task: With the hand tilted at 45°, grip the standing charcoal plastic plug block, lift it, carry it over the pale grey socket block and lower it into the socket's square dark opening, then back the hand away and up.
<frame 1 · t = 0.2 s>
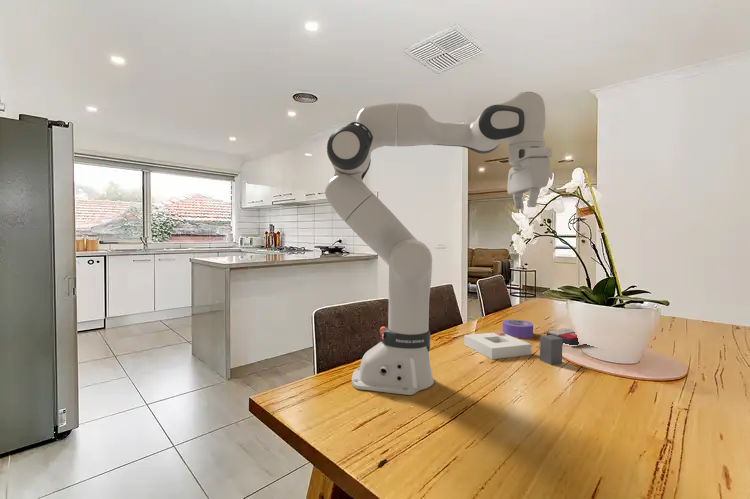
hand: (524, 208, 94), 48 cm above the table, tool pointing down, fingers open, 8 cm apart
socket: (496, 349, 123), on the table
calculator: (571, 342, 135), on the table
tape roll: (517, 335, 143), on the table
plug: (550, 361, 111), on the table
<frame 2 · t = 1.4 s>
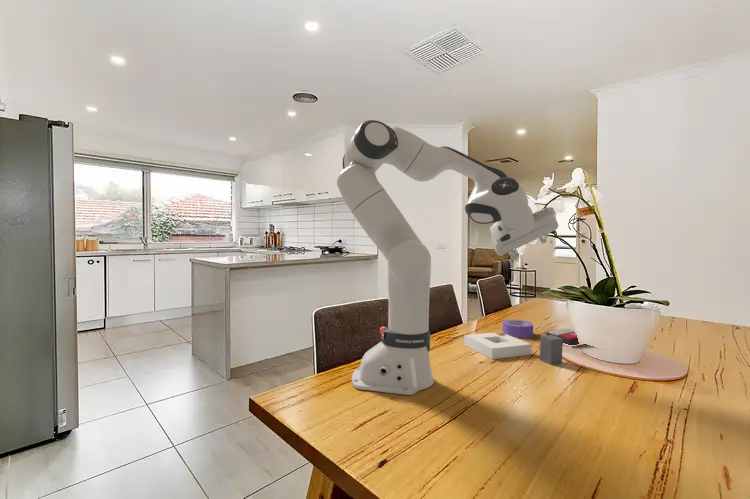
hand: (529, 248, 114), 36 cm above the table, tool tilted 55°, fingers open, 8 cm apart
nothing on the table moved.
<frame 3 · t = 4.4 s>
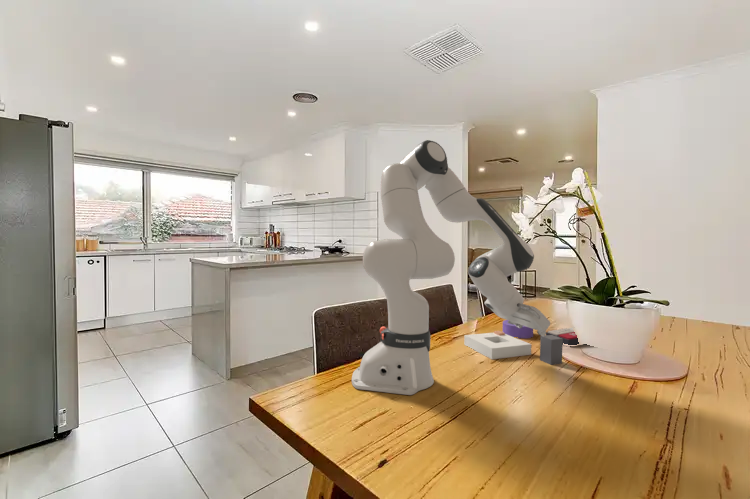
hand: (531, 330, 110), 10 cm above the table, tool tilted 45°, fingers open, 8 cm apart
nothing on the table moved.
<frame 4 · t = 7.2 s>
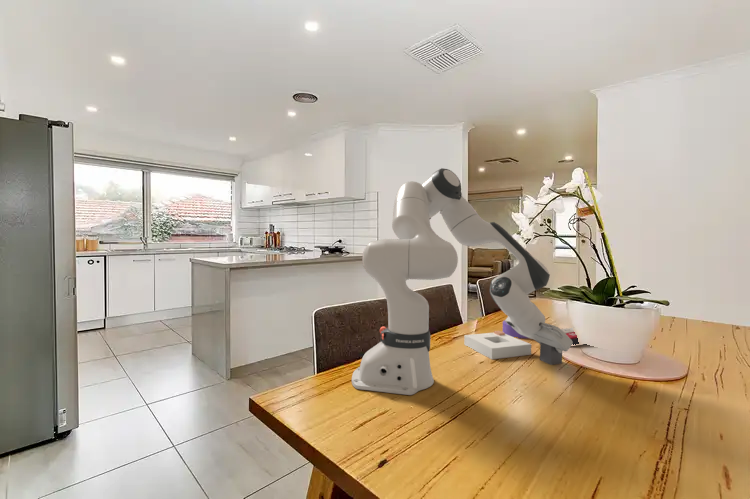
hand: (552, 348, 112), 4 cm above the table, tool tilted 45°, fingers closed on plug, 4 cm apart
plug: (550, 361, 111), on the table, touching gripper
everything else where it was.
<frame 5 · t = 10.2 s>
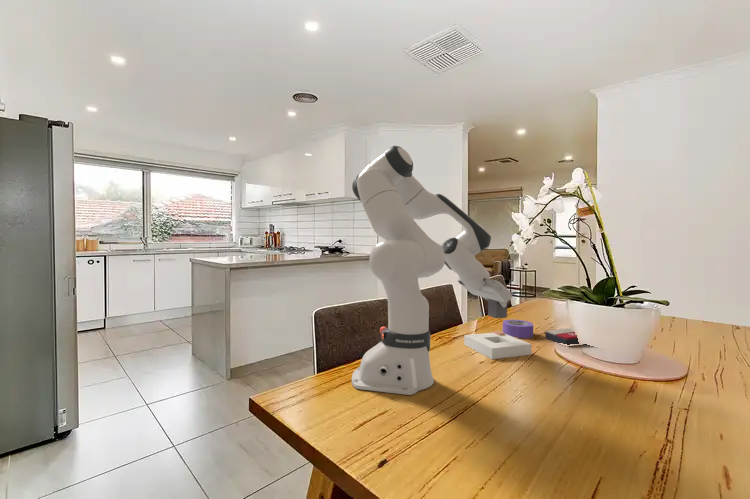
hand: (498, 304, 123), 16 cm above the table, tool tilted 45°, fingers closed on plug, 4 cm apart
plug: (497, 316, 123), point 12 cm above the table, touching gripper
everything else where it was.
when the fingers open (7 cm above the table, at t = 13.1 s): plug drops 1 cm, resting on socket.
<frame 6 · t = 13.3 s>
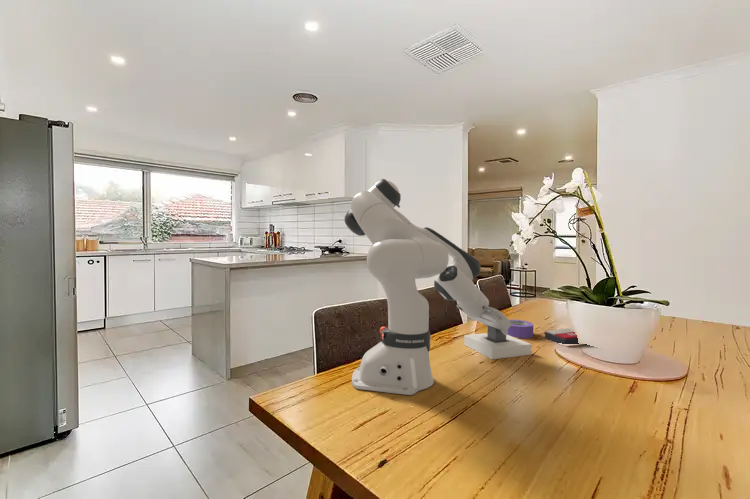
hand: (498, 330, 123), 7 cm above the table, tool tilted 45°, fingers open, 6 cm apart
plug: (496, 345, 123), point 1 cm above the table, touching socket
everything else where it was.
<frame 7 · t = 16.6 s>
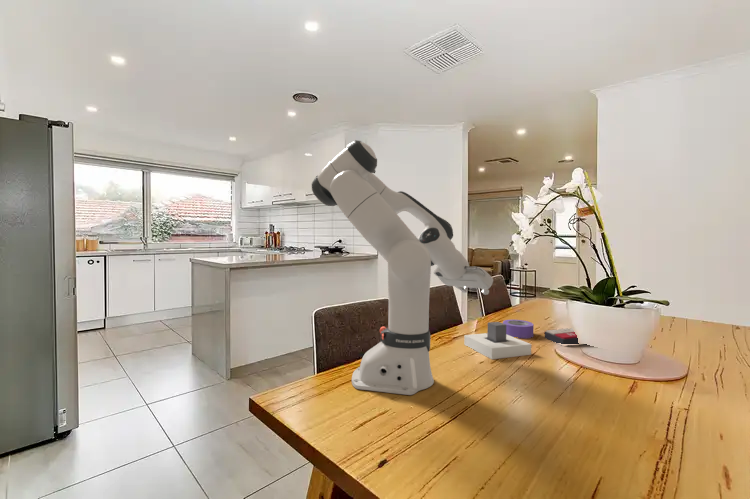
hand: (475, 292, 122), 20 cm above the table, tool tilted 50°, fingers open, 8 cm apart
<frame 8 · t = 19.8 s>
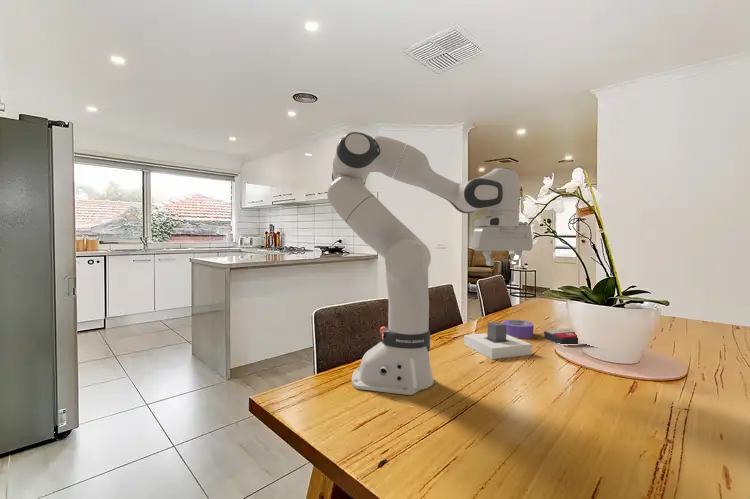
hand: (502, 265, 108), 31 cm above the table, tool pointing down, fingers open, 8 cm apart
at the end: plug 0.0 cm off-centre on the socket, point 1.3 cm above the socket's base; plug tilted 0°; the gripper is holding nothing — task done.
